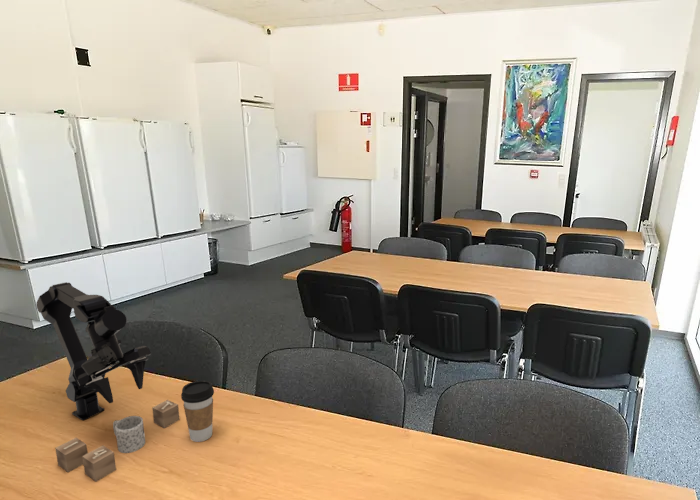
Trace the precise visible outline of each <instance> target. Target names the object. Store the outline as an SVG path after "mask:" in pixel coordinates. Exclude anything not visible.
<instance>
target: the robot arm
mask: <svg viewBox="0 0 700 500" xmlns="http://www.w3.org/2000/svg"><path fill="white" fill-rule="evenodd" d="M36 309H37V311H38V312H39V313H40V315H41V316H42V318H43V319H44V320H45V322H48V323H50V324H51V325H52V326H53V329H54V330H55V332H56V335H57V338H58V340H59V343H60V345H61V347H62V349H63V353H64V355H65V358H66V359H67V362H68V364H69V365H68V366H69V368H70V370H69V375H68V383H69V384H68V386H67V387H66V389H65V394H66V397H67V399H69V400H71V401H72V402H73V403H75V407H76V408H75V409H76V410H75V411H73V412H71V414H72V415H73V416H75V417H76V418H78V419H79V420H81V421H85V420H87V419H89V418H91V417H93V416H95V415H97V414H100V413H102V412H103V411H105V408H104V407H102V406H101V405H99V397H98V393H99V395H101V396H102V398H103V399H105V400H106V402H107V403H108V404H112V403H114V397H113V392H112V387H111V385H110V384H111V383H110V379H109V376H106V374H107V373H110V372H111V371H114V370H116V369H118V368H120V367H121V366H123V365H125V367H126V368H127V369H128V370H129V371H130V372H131V375H132V377H133V379H134V382H135V385H136V386H137V388H138V390H142V389H143V384H144V374H145V373H144V372H145V368H146V363H147V361H148V360H149V356H150V355H152V352H151V350H150V348H149V347H148V346H147V345H142V346H138V347H134V348H133V349H130V350H128V351H126V352H124V353H123V351H122V349H121V346H120V345H121V344H122V340H121V339H118V338H117V336H116V334H117V333H118V332H120V331H121V330H122V329H123V328H124V327H125V326H126V324H127V316H126V315H125V313H124V312H122V310H119V309H116V307H115V306H114V305H113V304H111V302H109V300H108V299H106V298H105V297H104V296H103V295H99V294H87V293H85V292H83V291H82V290H80V289H78V288H76V287H75V286H73V285H72V283H70V282H61V283H57V284H52V285H51V286H49V288H48V290H46V291H45V292H44V293H42V294H41V295H39V296H38V299H37V301H36ZM72 311H73V313H74V316H75V318H76V319H78V320H79V321H80V322H82V323H85V324H86V323H87V326H86V328H85V333H87V335H88V336H89V339H90V341H91V344H92V346H93V349H91V352H90V354H91V356H90V357H89V358H88V356H87V355H86V351H85V349H84V347H83V345H82V342H81V340H80V338H79V335H78V333H77V330H76V328H75V325H74V324H73V321H72V319H71V314H72Z"/></svg>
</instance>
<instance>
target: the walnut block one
mask: <svg viewBox="0 0 700 500" xmlns="http://www.w3.org/2000/svg"><path fill="white" fill-rule="evenodd" d="M87 446H88V444H87V443H86V442H84V441H82V440H81V439H79V438H78V437H74V438H72V439H70V440H68V441H67V442H64V443H62V444H60V445H58V446H56V447H55V455H56V461H57V466H58V467H60V468H61V469H62V470H64V471H65V472H66V473H70V472H72V471H75V470H76V469H77V468H79V467H81V466H84V464H83V458H82V456H84V455H86V454H87V453H89V452H88V447H87Z"/></svg>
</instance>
